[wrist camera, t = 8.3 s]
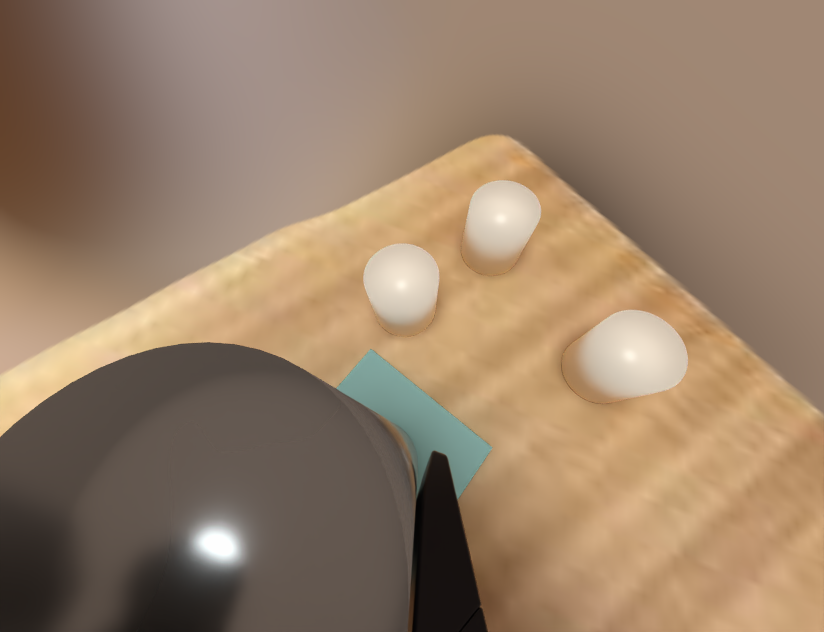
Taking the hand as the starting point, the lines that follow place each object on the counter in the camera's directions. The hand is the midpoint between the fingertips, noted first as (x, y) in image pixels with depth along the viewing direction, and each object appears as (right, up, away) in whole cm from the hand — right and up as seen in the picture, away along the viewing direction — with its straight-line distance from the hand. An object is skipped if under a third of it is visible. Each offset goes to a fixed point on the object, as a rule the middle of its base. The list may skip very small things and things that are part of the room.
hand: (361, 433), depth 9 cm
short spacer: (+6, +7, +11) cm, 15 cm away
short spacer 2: (+11, 0, +8) cm, 14 cm away
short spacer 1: (+1, +4, +10) cm, 11 cm away
